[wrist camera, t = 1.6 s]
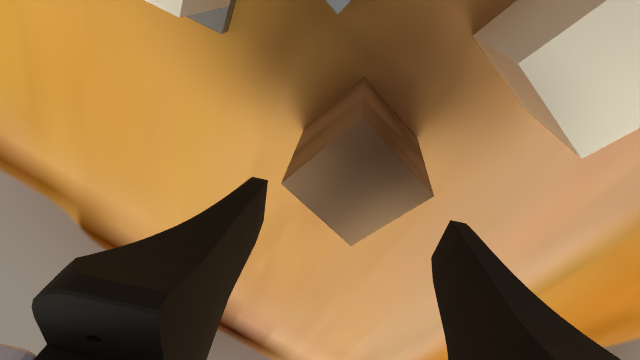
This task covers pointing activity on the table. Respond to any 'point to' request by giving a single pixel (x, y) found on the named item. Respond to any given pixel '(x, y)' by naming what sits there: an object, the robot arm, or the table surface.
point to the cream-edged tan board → (201, 11)
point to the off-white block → (571, 66)
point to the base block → (338, 4)
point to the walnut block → (358, 166)
